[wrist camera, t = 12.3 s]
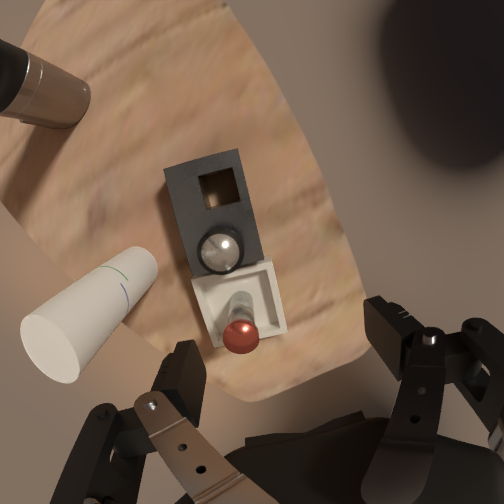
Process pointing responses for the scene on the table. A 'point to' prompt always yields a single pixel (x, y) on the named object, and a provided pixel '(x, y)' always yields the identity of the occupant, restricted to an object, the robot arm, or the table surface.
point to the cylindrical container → (86, 314)
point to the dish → (243, 279)
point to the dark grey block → (213, 216)
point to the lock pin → (241, 325)
